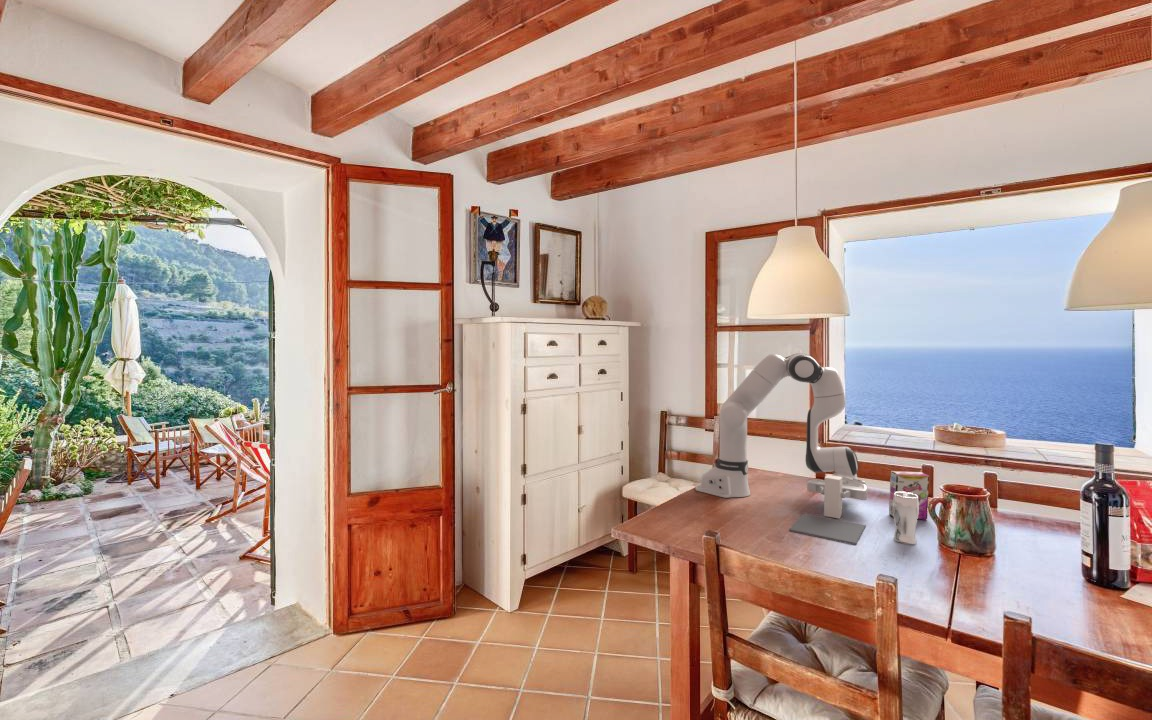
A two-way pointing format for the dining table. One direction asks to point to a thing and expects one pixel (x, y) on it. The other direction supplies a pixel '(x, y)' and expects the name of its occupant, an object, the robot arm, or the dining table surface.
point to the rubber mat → (828, 528)
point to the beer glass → (905, 517)
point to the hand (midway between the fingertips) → (832, 494)
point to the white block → (833, 496)
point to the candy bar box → (910, 489)
